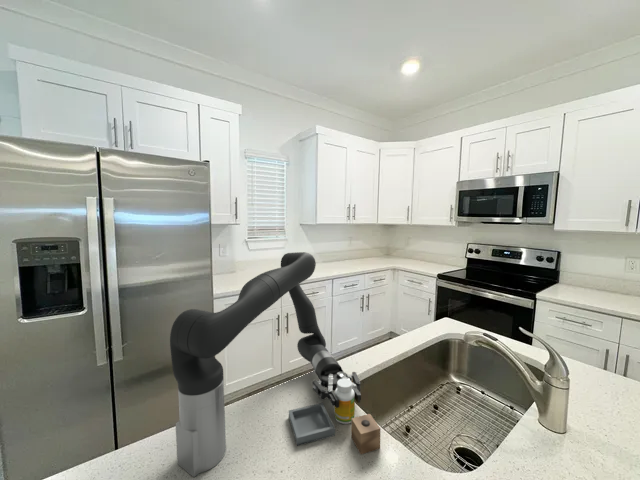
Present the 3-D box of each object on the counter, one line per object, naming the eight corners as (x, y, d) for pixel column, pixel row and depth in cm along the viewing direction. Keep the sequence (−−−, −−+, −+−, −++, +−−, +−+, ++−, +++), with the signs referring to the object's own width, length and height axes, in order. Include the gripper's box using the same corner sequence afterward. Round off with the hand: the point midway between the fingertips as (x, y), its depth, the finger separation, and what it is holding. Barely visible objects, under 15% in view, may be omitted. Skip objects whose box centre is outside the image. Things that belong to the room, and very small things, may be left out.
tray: (297, 446, 63) (297, 438, 63) (288, 417, 72) (288, 410, 72) (335, 435, 66) (335, 427, 66) (322, 409, 75) (322, 402, 75)
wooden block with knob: (360, 454, 61) (361, 433, 61) (351, 437, 66) (351, 418, 65) (380, 448, 63) (380, 428, 62) (369, 432, 67) (369, 413, 67)
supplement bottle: (353, 426, 69) (353, 390, 69) (333, 422, 70) (333, 387, 70) (355, 411, 75) (355, 377, 74) (336, 408, 76) (336, 375, 75)
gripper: (304, 360, 83) (322, 394, 67) (347, 352, 88) (373, 382, 72) (304, 383, 84) (322, 422, 68) (347, 374, 88) (373, 409, 72)
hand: (348, 401), depth 70 cm, fingers closed on supplement bottle, 5 cm apart
